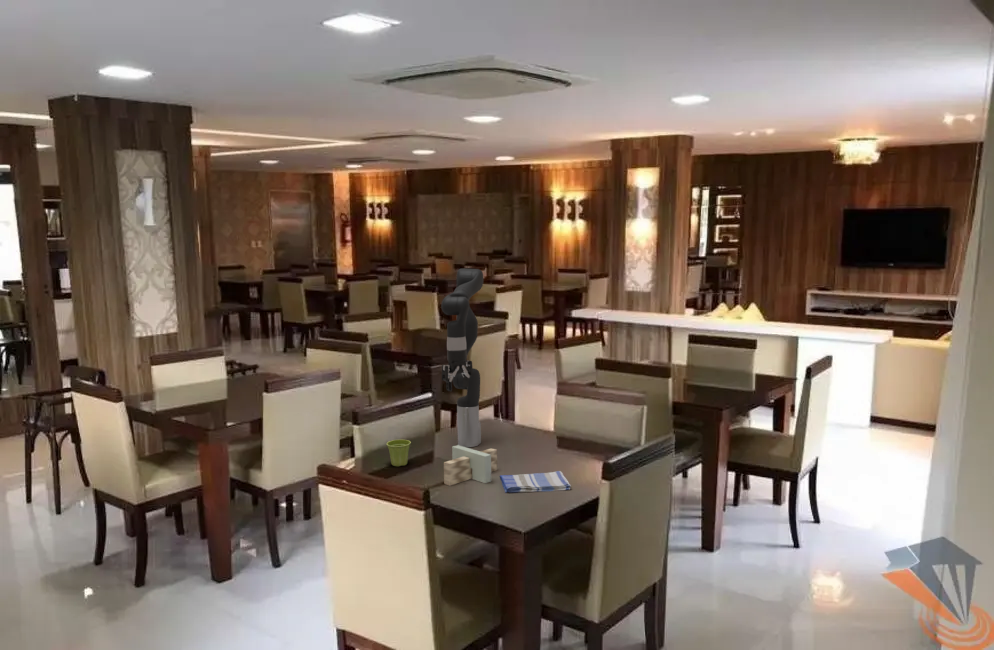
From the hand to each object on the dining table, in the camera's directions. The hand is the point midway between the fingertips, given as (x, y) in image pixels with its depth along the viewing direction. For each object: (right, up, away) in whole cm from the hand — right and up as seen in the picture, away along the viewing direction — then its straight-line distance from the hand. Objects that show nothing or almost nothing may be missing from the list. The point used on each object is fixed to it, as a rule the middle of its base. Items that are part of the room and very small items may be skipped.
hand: (457, 389), depth 284 cm
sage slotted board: (+6, -31, -13) cm, 34 cm away
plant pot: (-23, -30, +3) cm, 38 cm away
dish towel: (+29, -33, -21) cm, 49 cm away
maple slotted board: (+6, -31, -13) cm, 34 cm away
